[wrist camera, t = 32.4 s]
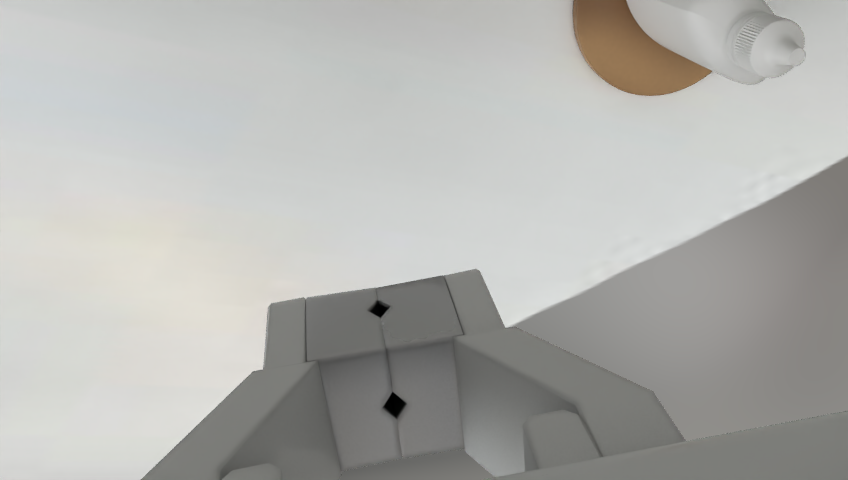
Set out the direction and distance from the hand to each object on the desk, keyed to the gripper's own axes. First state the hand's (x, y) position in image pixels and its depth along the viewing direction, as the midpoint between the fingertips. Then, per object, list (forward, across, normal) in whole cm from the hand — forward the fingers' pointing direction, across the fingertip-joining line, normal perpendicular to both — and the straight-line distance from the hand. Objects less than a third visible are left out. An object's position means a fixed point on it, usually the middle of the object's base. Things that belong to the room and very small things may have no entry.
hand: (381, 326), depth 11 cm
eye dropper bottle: (+30, -18, +3) cm, 35 cm away
